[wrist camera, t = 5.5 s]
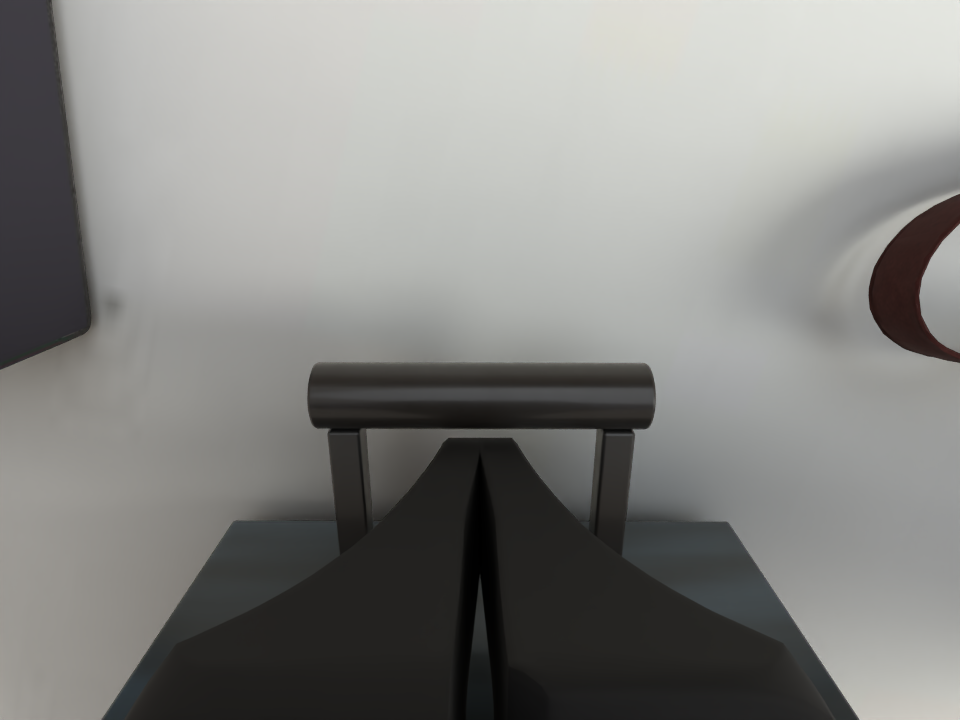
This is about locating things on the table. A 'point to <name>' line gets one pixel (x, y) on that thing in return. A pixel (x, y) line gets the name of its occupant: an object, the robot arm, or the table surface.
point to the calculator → (36, 192)
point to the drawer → (481, 405)
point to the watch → (911, 280)
